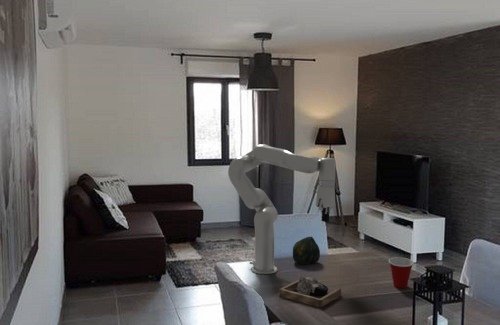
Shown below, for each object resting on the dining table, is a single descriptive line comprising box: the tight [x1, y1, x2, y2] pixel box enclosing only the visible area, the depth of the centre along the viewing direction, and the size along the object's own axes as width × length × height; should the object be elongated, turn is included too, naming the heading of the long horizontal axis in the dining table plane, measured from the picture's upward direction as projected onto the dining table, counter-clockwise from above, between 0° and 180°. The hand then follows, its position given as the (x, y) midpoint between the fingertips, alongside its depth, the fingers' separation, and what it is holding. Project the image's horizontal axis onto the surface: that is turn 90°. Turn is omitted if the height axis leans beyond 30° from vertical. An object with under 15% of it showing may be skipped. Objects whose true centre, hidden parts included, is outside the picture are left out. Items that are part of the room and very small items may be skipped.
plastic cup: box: [388, 256, 415, 289], centre depth 209 cm, size 11×11×12 cm
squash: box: [292, 236, 321, 265], centre depth 246 cm, size 14×15×15 cm
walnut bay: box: [278, 279, 342, 308], centre depth 198 cm, size 20×17×3 cm
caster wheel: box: [296, 275, 329, 296], centre depth 201 cm, size 7×11×10 cm
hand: (325, 221), depth 223 cm, fingers closed
